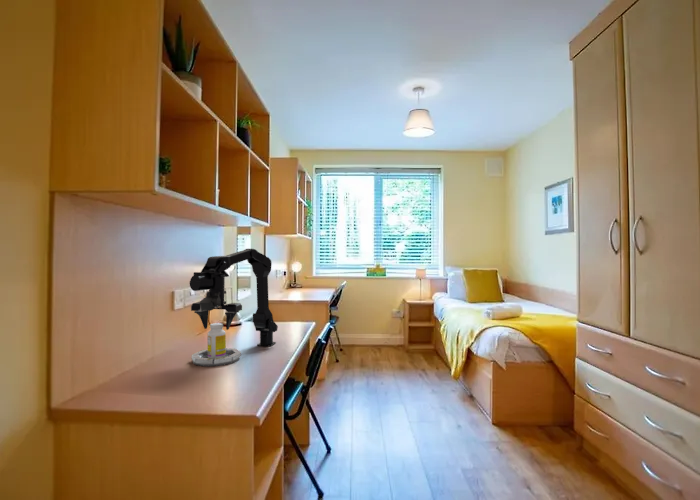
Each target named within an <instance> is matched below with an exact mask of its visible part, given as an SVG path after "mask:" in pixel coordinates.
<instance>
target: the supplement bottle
mask: <svg viewBox="0 0 700 500" xmlns="http://www.w3.org/2000/svg"><path fill="white" fill-rule="evenodd" d="M209 328H210V330H209V331H208V332H207V350H208V358H220V357H225V356H226V348H227V347H226V342H227V340H226V339H227V338H226V337H227V335H226V334H227V333H226V331H225V330H224V329H223V328H224V324H223V323H222V322H221V323H220V322H216V323H215V322H214V323H210V325H209Z"/></svg>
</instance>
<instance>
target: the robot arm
mask: <svg viewBox="0 0 700 500" xmlns="http://www.w3.org/2000/svg"><path fill="white" fill-rule="evenodd" d="M244 261H247V263H248V264H249V265H251V269H252V272H253V274H254V276H255V277H256V303H257V304H256V305H257V307H256V311H255V312H254V313H252V323H253V327H254V328H255V331H256V332H259V343H257V344H256V346H258V347H271V346H273V345H275V344H276V343H277V342H276V341H274V333H275V332H277V331H278V328H279V327H278V326H279V325H277V323H276V322H275V321H274V317H273V313H272V312H271V310H270V306H269V305H270V304H269V302H270V301H269V280H268V279H269V275H270V274H271V270H272V265H273V264H272V259H270V258H269V256H266V255H265V254H264V253H262V252H259V251H258V250H257V249H255V248H245V249H243V250H239V251H237V252H233V253H230V254H226V255H217V256H216V255H215V256H209V257H208V258H207V260H206V263H205V264H204V266H203V268H202V269H201V270H200V272H198V271H197V272H196V271H195V272H193V275H192V276H191V278H190V280H189V287H190V289H191V290H192V291H194V292H198V291H207V292H206V296H205V297H203V298H202V299H201V300H200V301H198V302H193V303H192V304H191V306H190V311H191V312H192V311H193V312H194V314H197V315H198V316H199V318H200V321H201V323H202V325H203V329H204V330H206V329H208V325H209V324H208V323H209V314H210V312H211V311H213V310H225V311H226V312H224V314H225V316H226V319H225V322H226V323H225V328H226V329H225V330H227V331H228V330H229V329H230V327H231V324H232V323H233V320H234V318H235V316H236V315H237V313H240V312H239V311H243V305H242V303H241V302H231V303H227V301H225V294H227V291H226V290H225V286H226V285H225V279H226V278H228V277H230V275H229V274H228V273H227V272H226V270H229V269H230V268H231V266H233V265H235V264H237V263H242V262H244ZM209 311H210V312H209Z"/></svg>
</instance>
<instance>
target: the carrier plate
mask: <svg viewBox="0 0 700 500" xmlns="http://www.w3.org/2000/svg"><path fill="white" fill-rule="evenodd" d="M241 357H242V352H241V351H240V350H239V349H237V348H229V347H226V356H225V357H220V358H208V349H203V350H200V351H197V352H194V353H193V354H191V361H192V364H193V365H195V366H199V367H220V366H221V367H222V366H227V365H230V364H234V363H236V362H238V361H239V360H240V358H241Z"/></svg>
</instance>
